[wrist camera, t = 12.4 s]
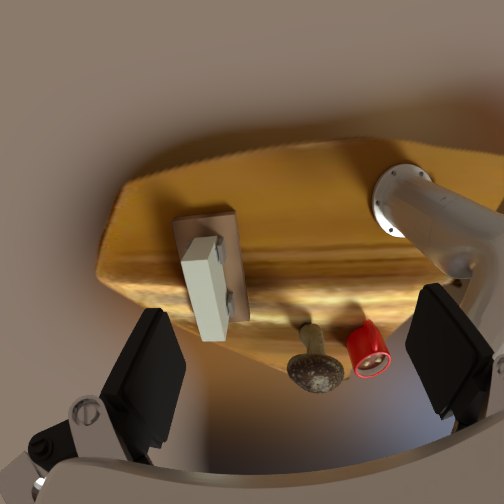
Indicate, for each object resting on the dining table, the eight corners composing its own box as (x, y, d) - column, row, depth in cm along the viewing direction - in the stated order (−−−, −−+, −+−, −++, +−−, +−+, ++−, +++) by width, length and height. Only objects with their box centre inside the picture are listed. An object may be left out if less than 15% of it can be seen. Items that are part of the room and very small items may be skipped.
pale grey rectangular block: (218, 235, 41) (208, 259, 34) (231, 309, 47) (226, 340, 40) (194, 237, 42) (180, 261, 34) (210, 310, 47) (202, 341, 40)
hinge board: (235, 210, 42) (232, 221, 37) (250, 314, 50) (248, 331, 46) (174, 217, 43) (164, 228, 38) (198, 316, 51) (193, 333, 47)
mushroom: (336, 332, 52) (352, 389, 38) (297, 347, 54) (304, 406, 40) (320, 299, 48) (336, 359, 35) (278, 317, 50) (281, 379, 37)
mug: (381, 306, 49) (395, 332, 42) (378, 347, 54) (389, 372, 47) (344, 316, 50) (354, 343, 43) (346, 355, 55) (354, 382, 48)
